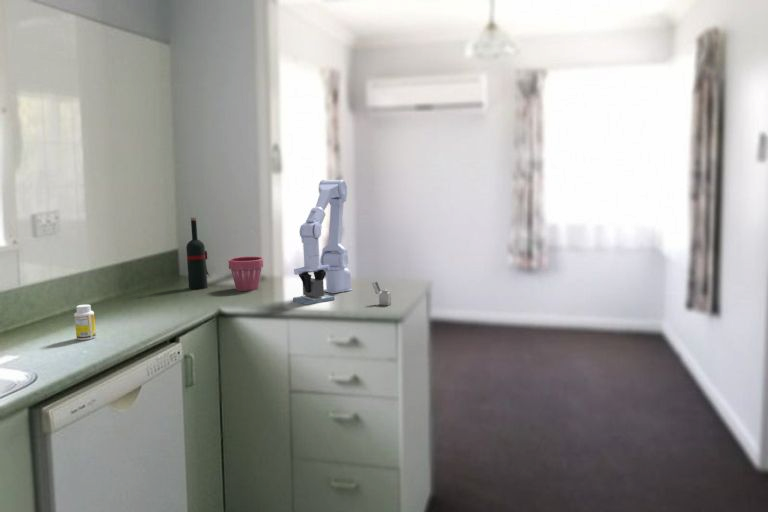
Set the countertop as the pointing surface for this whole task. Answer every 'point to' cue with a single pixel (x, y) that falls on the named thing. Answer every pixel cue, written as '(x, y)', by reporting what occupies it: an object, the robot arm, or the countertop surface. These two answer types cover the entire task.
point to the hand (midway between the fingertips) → (313, 291)
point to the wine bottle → (196, 260)
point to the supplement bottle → (85, 323)
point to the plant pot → (246, 272)
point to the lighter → (382, 294)
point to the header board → (312, 299)
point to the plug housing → (315, 288)
